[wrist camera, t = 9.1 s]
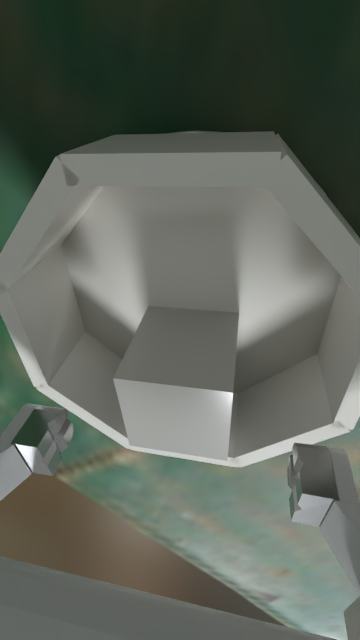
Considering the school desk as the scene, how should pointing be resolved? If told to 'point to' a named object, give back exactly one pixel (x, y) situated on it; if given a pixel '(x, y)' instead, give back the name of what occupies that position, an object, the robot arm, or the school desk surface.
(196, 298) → the bowl
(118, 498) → the school desk surface
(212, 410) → the grey cube
